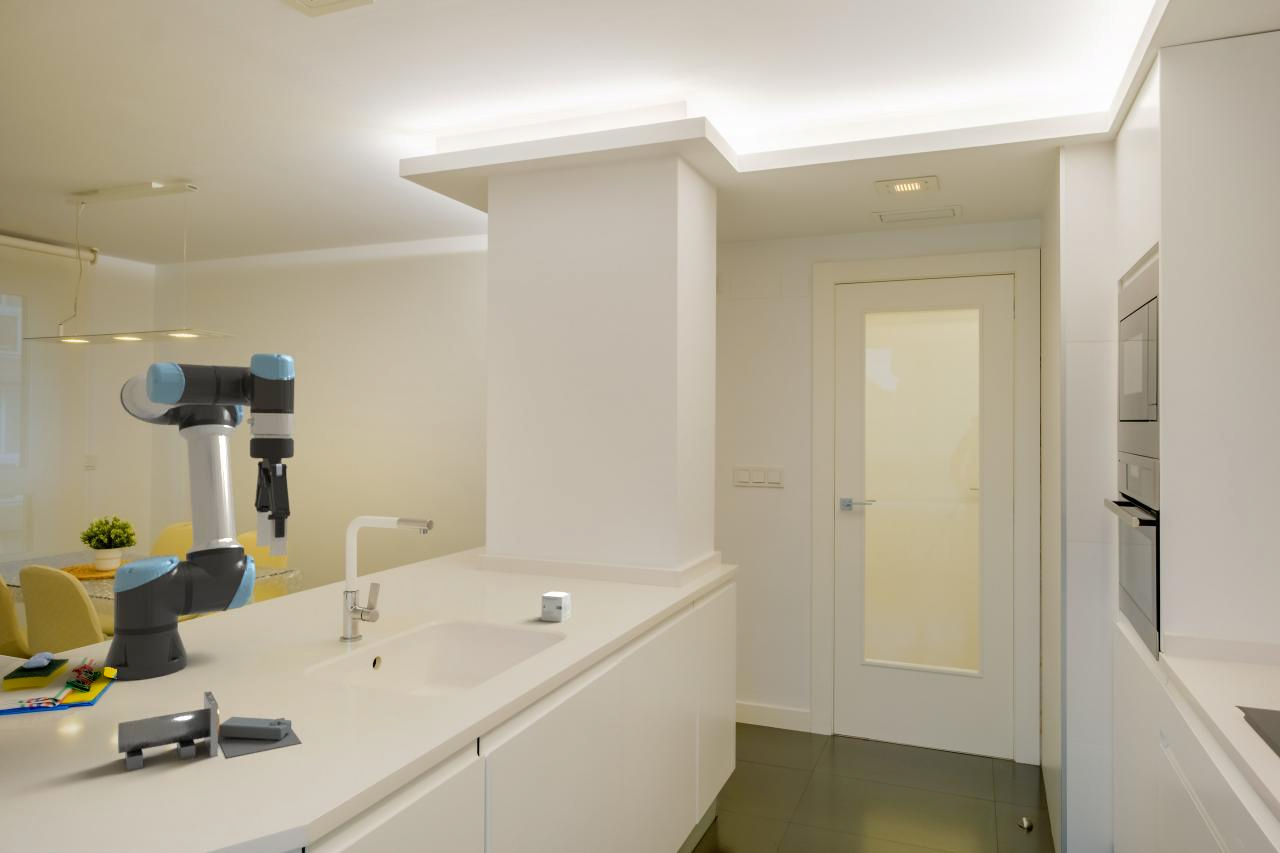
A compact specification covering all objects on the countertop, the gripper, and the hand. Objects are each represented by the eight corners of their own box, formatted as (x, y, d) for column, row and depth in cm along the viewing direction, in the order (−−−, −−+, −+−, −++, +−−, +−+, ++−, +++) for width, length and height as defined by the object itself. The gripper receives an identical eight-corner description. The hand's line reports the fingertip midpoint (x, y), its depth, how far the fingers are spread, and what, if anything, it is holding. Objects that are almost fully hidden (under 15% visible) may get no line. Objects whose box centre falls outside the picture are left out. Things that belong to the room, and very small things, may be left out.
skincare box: (540, 622, 221) (541, 594, 221) (550, 617, 226) (550, 590, 226) (561, 624, 219) (562, 596, 219) (571, 619, 224) (571, 592, 224)
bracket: (231, 727, 140) (231, 716, 140) (291, 731, 139) (292, 719, 139) (218, 736, 136) (218, 724, 136) (280, 740, 136) (280, 728, 136)
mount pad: (214, 731, 141) (214, 730, 141) (283, 718, 147) (283, 717, 147) (226, 758, 129) (226, 757, 129) (301, 743, 135) (301, 742, 135)
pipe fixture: (117, 757, 129) (117, 705, 129) (213, 739, 137) (213, 690, 137) (119, 775, 123) (119, 720, 123) (220, 755, 130) (220, 704, 130)
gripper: (239, 435, 164) (238, 543, 164) (262, 438, 143) (261, 561, 143) (280, 435, 168) (279, 540, 168) (308, 438, 147) (307, 558, 147)
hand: (271, 550), depth 156 cm, fingers open, 13 cm apart
